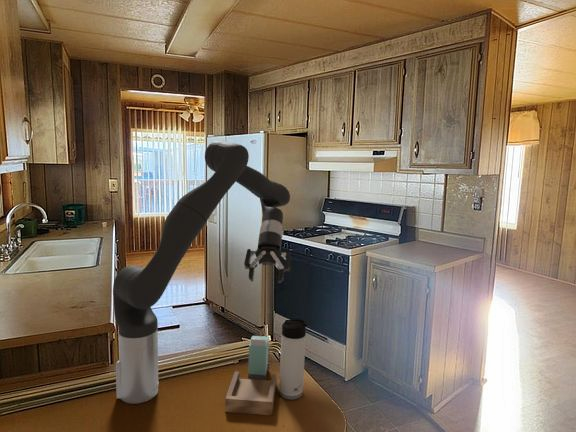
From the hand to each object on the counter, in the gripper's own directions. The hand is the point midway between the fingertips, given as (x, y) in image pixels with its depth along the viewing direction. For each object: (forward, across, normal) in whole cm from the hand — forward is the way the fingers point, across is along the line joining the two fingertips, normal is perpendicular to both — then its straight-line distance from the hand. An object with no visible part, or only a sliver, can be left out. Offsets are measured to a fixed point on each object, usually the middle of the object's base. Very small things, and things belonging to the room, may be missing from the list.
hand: (265, 281), depth 122 cm
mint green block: (+25, 0, +8) cm, 26 cm away
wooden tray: (+33, 0, +1) cm, 33 cm away
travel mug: (+31, +10, +3) cm, 32 cm away
